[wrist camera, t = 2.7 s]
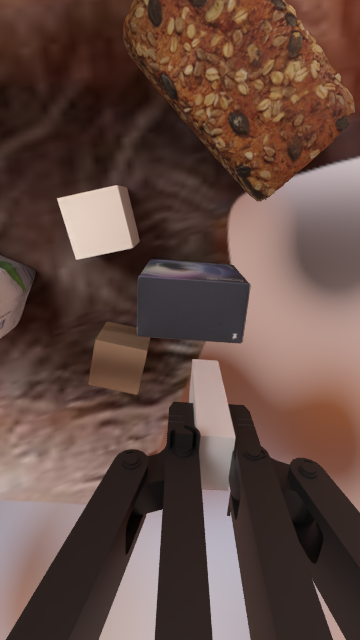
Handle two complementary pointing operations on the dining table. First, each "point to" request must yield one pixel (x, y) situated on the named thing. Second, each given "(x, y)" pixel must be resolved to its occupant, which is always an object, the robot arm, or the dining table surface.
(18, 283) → the juice carton
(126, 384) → the walnut block
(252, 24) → the bread
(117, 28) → the dining table surface
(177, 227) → the dining table surface
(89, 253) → the cream block
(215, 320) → the small box
